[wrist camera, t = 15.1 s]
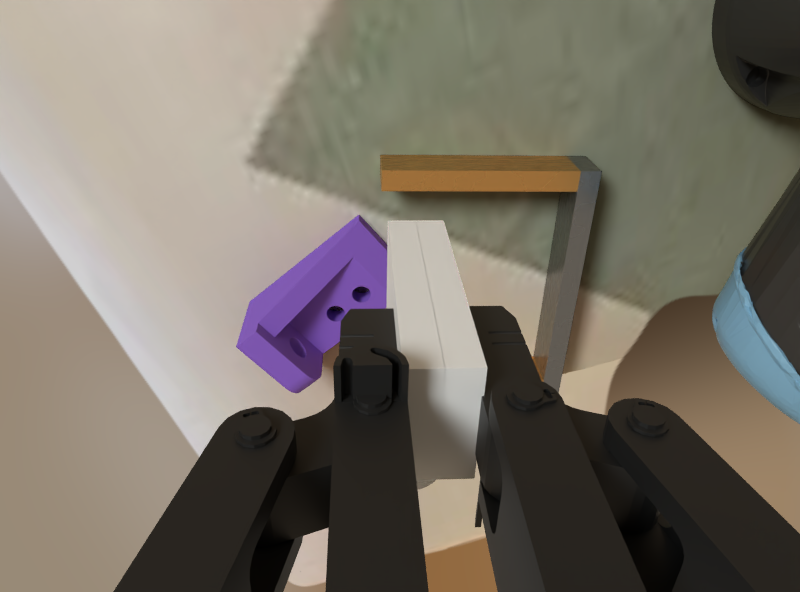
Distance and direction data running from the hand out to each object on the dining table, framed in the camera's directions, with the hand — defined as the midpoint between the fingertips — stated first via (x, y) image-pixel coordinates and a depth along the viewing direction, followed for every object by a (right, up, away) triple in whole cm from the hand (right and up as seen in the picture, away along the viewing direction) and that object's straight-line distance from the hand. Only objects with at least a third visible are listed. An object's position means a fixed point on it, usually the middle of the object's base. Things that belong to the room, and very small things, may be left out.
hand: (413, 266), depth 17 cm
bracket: (-6, 0, +34) cm, 35 cm away
